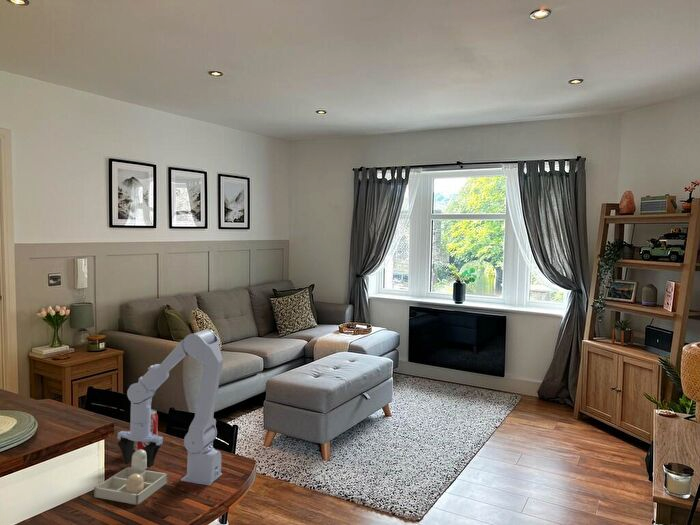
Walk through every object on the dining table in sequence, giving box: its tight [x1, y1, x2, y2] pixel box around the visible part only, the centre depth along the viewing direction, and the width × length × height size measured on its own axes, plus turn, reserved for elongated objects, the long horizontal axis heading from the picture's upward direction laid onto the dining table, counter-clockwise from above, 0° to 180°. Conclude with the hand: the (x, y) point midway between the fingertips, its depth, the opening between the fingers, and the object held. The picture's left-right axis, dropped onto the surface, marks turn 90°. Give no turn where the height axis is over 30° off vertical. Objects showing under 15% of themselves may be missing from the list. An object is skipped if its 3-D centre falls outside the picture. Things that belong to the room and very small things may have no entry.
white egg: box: [130, 449, 147, 470], centre depth 156 cm, size 4×4×6 cm
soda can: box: [134, 408, 159, 452], centre depth 170 cm, size 7×7×13 cm
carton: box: [93, 466, 168, 506], centre depth 143 cm, size 14×14×3 cm
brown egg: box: [126, 473, 144, 494], centre depth 139 cm, size 4×4×6 cm
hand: (139, 464), depth 156 cm, fingers open, 7 cm apart
